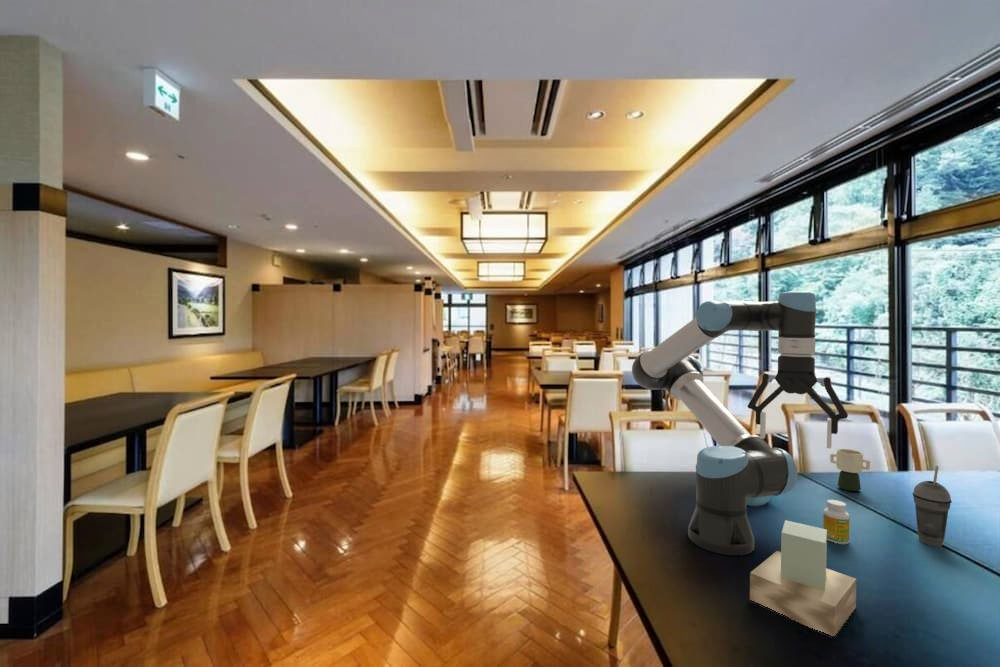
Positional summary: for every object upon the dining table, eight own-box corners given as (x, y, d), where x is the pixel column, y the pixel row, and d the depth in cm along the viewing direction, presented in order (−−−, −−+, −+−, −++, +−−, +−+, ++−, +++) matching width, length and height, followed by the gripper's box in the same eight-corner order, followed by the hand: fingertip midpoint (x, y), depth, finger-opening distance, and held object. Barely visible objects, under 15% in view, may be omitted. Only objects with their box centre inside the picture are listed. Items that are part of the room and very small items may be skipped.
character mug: (872, 491, 150) (872, 453, 150) (866, 496, 146) (867, 457, 145) (832, 482, 159) (833, 446, 158) (826, 487, 154) (827, 449, 154)
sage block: (780, 577, 88) (781, 532, 88) (784, 562, 94) (785, 520, 93) (824, 590, 84) (825, 543, 84) (826, 574, 89) (826, 529, 89)
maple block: (749, 602, 90) (750, 572, 90) (776, 577, 99) (776, 550, 99) (834, 640, 79) (834, 606, 79) (855, 609, 88) (856, 578, 88)
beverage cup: (930, 535, 119) (931, 460, 118) (959, 549, 111) (961, 469, 111) (903, 535, 118) (905, 460, 118) (931, 549, 111) (932, 469, 111)
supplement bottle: (838, 546, 113) (838, 507, 112) (817, 536, 118) (818, 499, 118) (854, 543, 114) (855, 505, 114) (833, 534, 119) (834, 497, 119)
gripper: (736, 353, 114) (734, 436, 114) (862, 358, 98) (860, 455, 99) (742, 352, 120) (740, 431, 120) (861, 357, 104) (860, 447, 105)
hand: (794, 442), depth 110 cm, fingers open, 13 cm apart
